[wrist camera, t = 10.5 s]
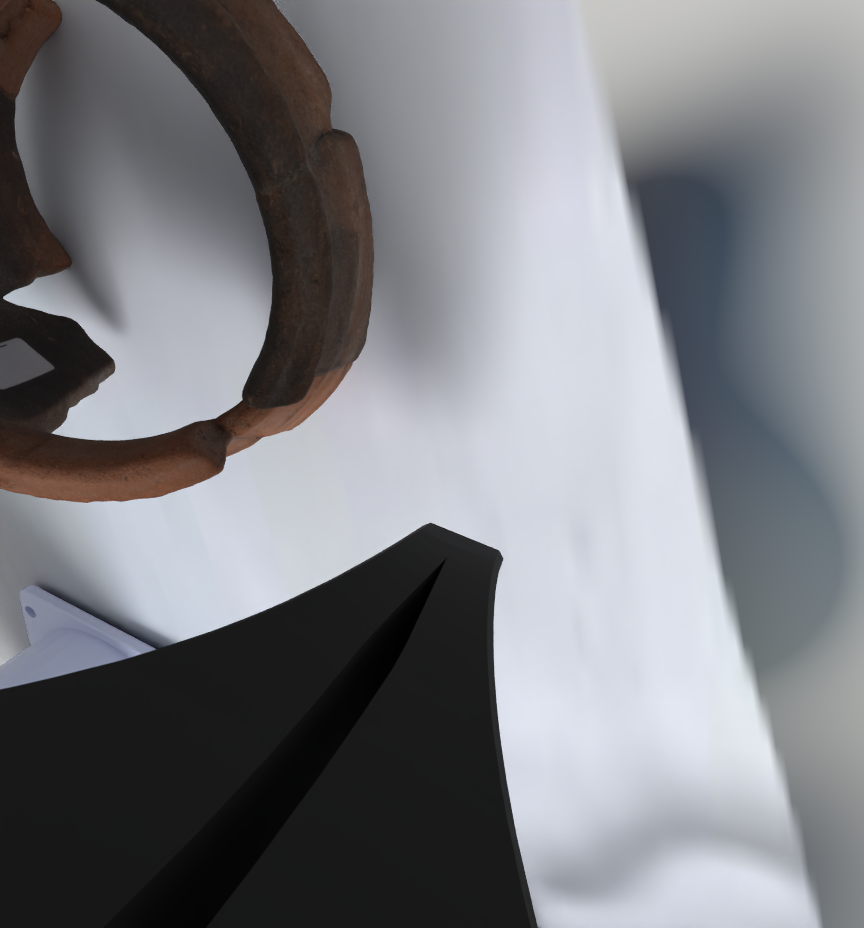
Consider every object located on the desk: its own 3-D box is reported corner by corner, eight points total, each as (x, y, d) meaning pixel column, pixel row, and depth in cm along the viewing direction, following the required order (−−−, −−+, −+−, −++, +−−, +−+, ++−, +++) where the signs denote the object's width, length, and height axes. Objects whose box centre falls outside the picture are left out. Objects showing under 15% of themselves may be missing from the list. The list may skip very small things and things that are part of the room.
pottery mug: (72, -196, 10) (-517, -941, 3) (441, 188, 14) (548, 244, 7) (-156, 307, 14) (-667, 495, 7) (195, 493, 18) (109, 725, 11)
